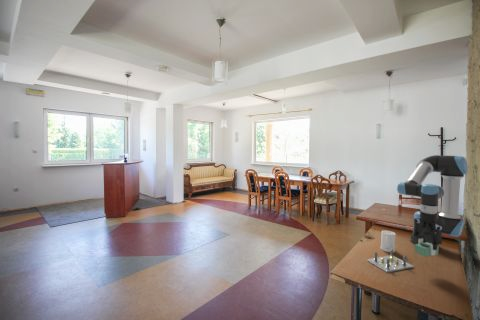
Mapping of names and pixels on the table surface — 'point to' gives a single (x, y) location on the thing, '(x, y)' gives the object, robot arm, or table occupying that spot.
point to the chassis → (390, 262)
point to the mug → (388, 241)
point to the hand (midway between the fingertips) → (426, 252)
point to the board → (425, 249)
